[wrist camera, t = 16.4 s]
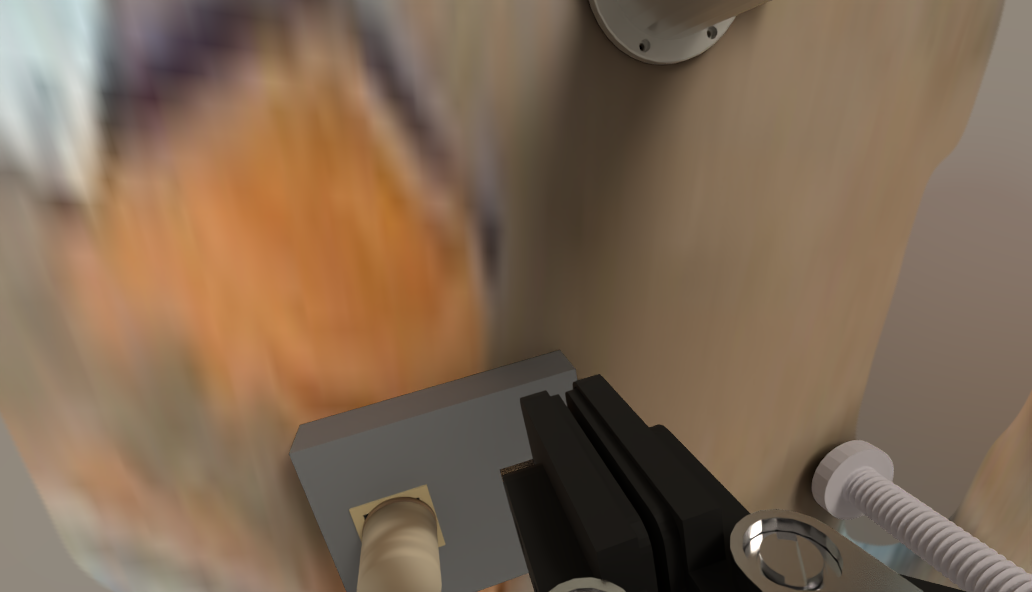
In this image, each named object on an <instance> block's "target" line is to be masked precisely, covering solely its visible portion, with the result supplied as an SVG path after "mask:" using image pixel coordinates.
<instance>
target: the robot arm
mask: <svg viewBox="0 0 1032 592" xmlns="http://www.w3.org/2000/svg"><path fill="white" fill-rule="evenodd" d="M769 1H771V0H589V3H590V7H591V9H592V11H593V13H594V16H595V18H596V20H597V22H598V24H599V26H600V27H601V29H602V30H603V32H604V33H605V34H606V36H607V37H608V39H609V40H610V41H611V42H612V43H613V44H614V45H615V46H616V47H617V48H618V49H620V50H621V51H623V52H624V53H626V54H627V55H629V56H630V57H632V58H634V59H637V60H639V61H642V62H645V63H650V64H657V65H666V64H675V63H678V62H682V61H685V60H688V59H691V58H693V57H695V56H697V55H700V54H702V53H703V52H704V51H706V50H707V49H709V48H710V47H711V46H713V45H714V44H715V43H716V42H717V41H718V40H719V39H720V38H721V37H722V36H723V35H724V34H725V32H726V31H727V30H728V28H729V27H730V25H731V24H732V22H733V21H734V19H735V17H736V15H739V14H741V13H743V12H745V11H748V10H750V9H752V8H755V7H757V6H759V5H762V4H764V3H766V2H769ZM707 35H708V36H707ZM639 45H641V47H642V50H640V48H639ZM565 397H566V403H567V406H566V404H565V403H564V401H563V400H562V398H561V397H560V395H559V394H556V395H553V396H550V395H549V393H548V392H547V391H546V390H544V391H541V392H538V393H534V394H531V395H528V396H525V397H521V398H520V405H521V410H522V414H523V418H524V423H525V427H526V431H527V436H528V440H529V445H530V449H531V453H532V458H533V462H534V465H532V466H529V467H526V468H523V469H520V470H517V471H514V472H511V473H508V474H505V475H502V477H503V481H504V485H505V489H506V493H507V497H508V501H509V505H510V509H511V513H512V516H513V520H514V524H515V527H516V531H517V535H518V538H519V542H520V545H521V549H522V552H523V555H524V559H525V562H526V565H527V569H528V572H529V575H530V578H531V582H532V585H533V588H534V592H966V591H962V590H958V589H955V588H951V587H947V586H943V585H939V584H935V583H931V582H928V581H924V580H920V579H916V578H912V577H908V576H904V575H901V574H898V573H896V572H895V571H893V570H892V569H890V568H889V567H887V566H886V565H885V564H883V563H882V562H880V561H879V560H877V559H876V558H875V557H873V556H872V555H870V554H869V553H867V552H866V551H864V550H863V549H862V548H860V547H859V546H857V545H856V544H854V543H853V542H852V541H850V540H849V539H847V538H846V537H844V536H843V535H841V534H840V533H839V532H837V531H836V530H834V529H833V528H831V527H830V526H828V525H826V524H824V523H823V522H821V521H819V520H817V519H815V518H813V517H810V516H807V515H804V514H801V513H798V512H795V511H788V510H780V509H773V510H761V511H758V512H755V513H752V514H750V513H749V512H748V511H747V510H746V509H745V508H744V507H743V506H742V505H741V504H740V503H739V502H738V501H737V499H736V498H735V497H734V496H733V495H732V494H731V493H730V492H729V491H728V490H727V489H726V488H725V487H724V486H723V485H722V484H721V483H720V482H719V481H718V480H717V479H716V478H715V477H714V476H713V475H712V474H711V473H710V472H709V471H708V470H707V469H706V468H705V467H704V466H703V465H702V464H701V463H700V462H699V461H698V460H697V459H696V458H695V457H694V455H693V454H692V453H691V452H690V451H689V450H688V449H687V448H686V447H685V446H684V445H683V444H682V443H681V442H680V441H679V440H678V439H677V438H676V437H675V436H674V435H673V434H672V433H671V432H670V431H669V430H668V429H667V428H666V427H664V426H663V425H656V426H653V427H648V426H647V425H646V424H645V423H644V422H643V421H642V419H641V418H640V417H639V416H638V415H637V414H636V413H635V412H634V411H633V410H632V408H631V407H630V406H629V405H628V404H627V403H626V402H625V401H624V400H623V399H622V398H621V396H620V395H619V394H618V393H617V392H616V391H615V390H614V389H613V388H612V387H611V385H610V384H609V383H608V382H607V381H606V380H605V379H604V378H603V377H602V376H601V375H600V374H598V375H594V376H591V377H588V378H584V379H581V380H578V381H574V382H573V390H570V391H566V392H565Z"/></svg>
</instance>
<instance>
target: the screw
mask: <svg viewBox="0 0 1032 592" xmlns="http://www.w3.org/2000/svg"><path fill="white" fill-rule="evenodd" d="M893 473H894V468H893V463H892V461H891V459H890V457H889V456H888V455H887V454H886V453H884V452H883V451H881V450H880V449H878V448H877V447H875V446H873V445H871V444H870V443H868V442H866V441H862V440H853V441H849V442H846V443H843V444H841V445H839V446H837V447H836V448H834V449H833V450H832V451H831V452H829V453H828V454H827V455H826V456H825V457H824V459H823V460H822V461H821V462H820V464H819V466H818V467H817V469H816V471H815V474H814V476H813V480H812V494H813V497H814V499H815V501H816V502H817V503H818V504H819V505H821V506H822V507H823V508H824V509H825V510H827V511H828V512H829V513H830V514H831V515H833V516H834V517H836V518H839V519H843V520H845V519H854V518H857V517H860V516H862V515H866V516H868V518H870V519H871V520H873V521H874V522H875V523H876V524H877V525H880V527H881V528H883V529H885V530H886V531H887V532H888V533H889V534H892V536H893V537H894V538H896V539H898V540H899V541H900V542H901V543H902V544H905V545H906V547H907V548H909V549H910V550H912V551H913V552H914V553H915V554H916V555H919V556H920V558H921V559H923V560H926V561H927V563H928V564H929V565H930V566H934V568H935V569H936V570H937V571H939V572H941V573H942V575H943V576H945V577H947V578H949V579H950V581H951V582H952V583H954V584H957V585H958V587H959V588H960V589H961V590H965V591H966V592H1032V574H1029V573H1026V572H1025V570H1024V569H1022V568H1021V567H1017V566H1016V565H1015V564H1014V563H1013V562H1012V561H1009V560H1006V558H1005V557H1004V556H1003V555H1000V554H998V553H997V552H996V551H995V550H994V549H991V548H989V547H988V546H987V545H986V544H985V543H982V542H980V540H978V539H977V538H976V537H972V535H971V534H969V533H968V532H965V531H964V530H963V529H962V528H961V527H959V526H956V525H955V524H954V523H953V522H951V521H949V520H948V519H947V518H945V517H944V516H941V515H940V514H939V513H938V512H936V511H934V510H933V509H932V508H931V507H928V506H927V505H926V504H924V503H923V502H920V501H919V500H918V499H917V498H914V497H913V496H912V495H911V494H909V493H907V492H906V491H905V490H904V489H901V488H900V487H899V486H897V485H894V483H893V482H892V480H893Z"/></svg>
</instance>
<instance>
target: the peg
mask: <svg viewBox="0 0 1032 592" xmlns="http://www.w3.org/2000/svg"><path fill="white" fill-rule="evenodd" d="M441 588H442V582H441V571H440V560H439V549H438V538H437V520H436V516H435V513H434V511H433V510H432V508H431V507H430V506H429V505H428V504H427V503H425V502H424V501H422V500H420V498H413V497H395V498H391V499H388V500H386V501H384V502H382V503H380V504H379V505H377V506H376V507H375V508H373V509H372V510H371V512H370V513H369V514H368V515H367V517H366V519H365V521H364V524H363V531H362V546H361V555H360V565H359V574H358V583H357V592H441Z"/></svg>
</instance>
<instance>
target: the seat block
mask: <svg viewBox="0 0 1032 592" xmlns="http://www.w3.org/2000/svg"><path fill="white" fill-rule="evenodd" d="M574 381H578V380H577V375H576V369H575V368H574V367H573V365H572V364H571V363H570V362H569V360H568V359H567V358H566V357H565V356H564V354H563V353H562V352H561V351H560V350H558V351H555V352H551V353H548V354H544V355H541V356H537V357H534V358H530V359H527V360H523V361H520V362H517V363H513V364H510V365H506V366H503V367H499V368H496V369H492V370H489V371H485V372H482V373H478V374H475V375H472V376H468V377H465V378H461V379H458V380H454V381H451V382H447V383H444V384H440V385H437V386H434V387H430V388H427V389H423V390H420V391H416V392H413V393H409V394H406V395H402V396H399V397H395V398H392V399H389V400H385V401H382V402H378V403H375V404H371V405H368V406H364V407H361V408H357V409H354V410H351V411H347V412H344V413H340V414H337V415H333V416H330V417H326V418H323V419H319V420H316V421H312V422H309V423H306V424H302V425H300V426H299V429H298V432H297V434H296V437H295V439H294V442H293V445H292V447H291V450H290V452H289V455H290V458H291V460H292V463H293V465H294V467H295V470H296V472H297V474H298V477H299V479H300V482H301V484H302V486H303V489H304V491H305V494H306V496H307V498H308V501H309V503H310V506H311V508H312V510H313V513H314V515H315V518H316V520H317V522H318V525H319V527H320V530H321V532H322V534H323V537H324V539H325V541H326V544H327V546H328V549H329V551H330V553H331V556H332V558H333V561H334V563H335V565H336V568H337V570H338V573H339V575H340V577H341V580H342V582H343V585H344V587H345V589H346V592H357V583H358V574H359V565H360V555H361V546H362V531H363V524H364V521H365V519H366V517H367V515H368V514H369V513H370V512H371V510H372V509H373V508H375V507H376V506H377V505H379V504H380V503H382V502H384V501H386V500H388V499H391V498H395V497H413V498H420V500H422V501H424V502H425V503H427V504H428V505H429V506H430V507H431V508H432V510H433V511H434V513H435V516H436V520H437V538H438V549H439V560H440V571H441V582H442V588H441V592H477V591H480V590H482V589H485V588H488V587H491V586H494V585H496V584H499V583H502V582H505V581H507V580H510V579H513V578H516V577H519V576H521V575H524V574H527V573H529V572H528V569H527V565H526V562H525V559H524V555H523V552H522V549H521V545H520V542H519V538H518V535H517V531H516V527H515V524H514V520H513V516H512V513H511V509H510V505H509V501H508V497H507V493H506V489H505V485H504V482H503V481H502V477H501V473H500V469H503V468H506V467H509V466H513V465H516V464H519V463H522V462H525V461H528V460H531V459H533V458H532V453H531V449H530V445H529V440H528V436H527V431H526V427H525V423H524V418H523V414H522V410H521V405H520V398H521V397H525V396H528V395H531V394H534V393H538V392H541V391H544V390H546V391H547V392H548V393H549V395H550V396H553V395H556V394H559V395H560V397H561V398H562V400H563V401H564V403H565V404H566V406H567V403H566V397H565V392H566V391H570V390H573V382H574Z"/></svg>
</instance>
